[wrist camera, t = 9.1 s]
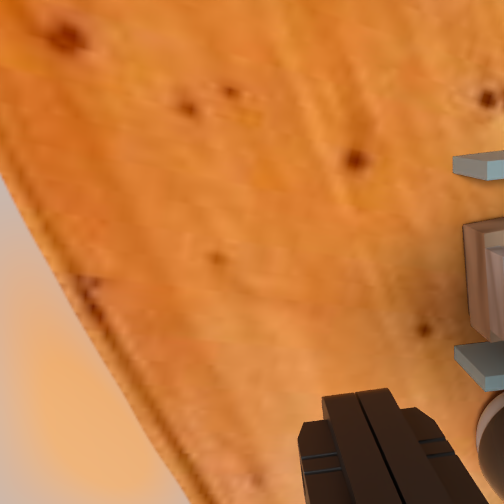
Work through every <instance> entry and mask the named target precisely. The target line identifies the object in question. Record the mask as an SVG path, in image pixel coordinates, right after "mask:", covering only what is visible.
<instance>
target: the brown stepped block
mask: <svg viewBox="0 0 504 504" xmlns="http://www.w3.org/2000/svg"><path fill="white" fill-rule="evenodd" d="M463 240H464V254H465V268H466V281H467V295H468V309H469V315H470V323H471V326H472V327H473V328H474V329H475V330H476V331H478V332H479V333H480V334H481V335H482V336H483V337H485V338H486V339H487V340H488V341H489V342H490V343H493V342H498V341H504V217H502V218H497V219H492V220H486V221H481V222H475V223H469V224H465V225H463Z"/></svg>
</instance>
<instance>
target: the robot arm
mask: <svg viewBox="0 0 504 504" xmlns="http://www.w3.org/2000/svg"><path fill="white" fill-rule="evenodd" d="M322 409H323V419H324V420H319V421H311V422H304V423H303V426H302V428H301V431H300V434H299V436H298V448H299V456H300V464H301V472H302V480H303V489H304V496H305V501H306V504H489V503H488V502H487V500H486V499H485V497H484V496H483V494H482V493H481V491H480V489H479V488H478V486H477V485H476V483H475V482H474V480H473V479H472V477H471V476H470V474H469V473H468V471H467V470H466V468H465V467H464V465H463V463H462V462H461V460H460V459H459V457H458V456H457V455H455V451H454V450H453V448H452V447H451V445H450V444H449V442H448V441H446V439H445V436H444V434H443V433H442V431H441V430H440V428H439V427H438V425H437V424H436V422H435V421H434V420H433V419H432V418H430V417H429V416H427V415H426V414H425V413H423V412H422V411H420V410H419V409H417V408H416V407H414V408H406V409H400V408H399V406H398V405H397V403H396V401H395V399H394V397H393V396H392V394H391V392H390V391H389V389H388V388H382V389H375V390H367V391H360V392H355V394H354V393H346V394H339V395H331V396H324V397H322Z"/></svg>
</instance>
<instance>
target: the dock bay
mask: <svg viewBox="0 0 504 504" xmlns="http://www.w3.org/2000/svg"><path fill="white" fill-rule="evenodd" d="M453 173H455V174H460V175H464V176H469V177H473V178H478V179H483V180H487V181H488V180H496V179H504V150H503V151H494V152H486V153H478V154H469V155H461V156H453ZM454 359H455V360H456V361H457V362H458V363H459V365H460V366H461V367H462V368H463V369H464V370H465V371H466V372H467V373H468V374H469V375H470V376H471V377H472V378H473V380H474V381H475V382H476V383H477V384H478V385H479V386H480V387H481V388H482V389H483V390H484V391H485V392H488V391H496V390H504V341H498V342H493V343H490V342H481V343H473V344H465V345H456V346H454Z"/></svg>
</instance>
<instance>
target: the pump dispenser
mask: <svg viewBox="0 0 504 504" xmlns="http://www.w3.org/2000/svg"><path fill="white" fill-rule="evenodd" d="M476 445H477V451H478V458H479V465H480V468H481V471H482V474H483V476H484V477H485V479H486V481H487V482H488V484H489V485H490V486H491V488H492V489H493V490H494V492H495V493H496V494H497V495H498V496H499V498H500V499H501V500H502V501H503V502H504V392H503V393H501V394H500V395H498V396H497V397H496V398H494V399H493V400H492V401H491V402H490V403H489V404H488V406H487V407H486V408H485V410H484V411H483V413H482V415H481V417H480V419H479V422H478V426H477V431H476Z"/></svg>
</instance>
